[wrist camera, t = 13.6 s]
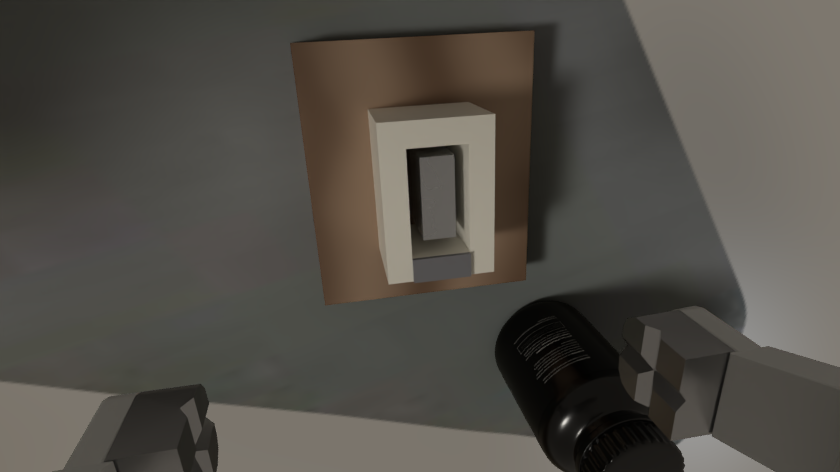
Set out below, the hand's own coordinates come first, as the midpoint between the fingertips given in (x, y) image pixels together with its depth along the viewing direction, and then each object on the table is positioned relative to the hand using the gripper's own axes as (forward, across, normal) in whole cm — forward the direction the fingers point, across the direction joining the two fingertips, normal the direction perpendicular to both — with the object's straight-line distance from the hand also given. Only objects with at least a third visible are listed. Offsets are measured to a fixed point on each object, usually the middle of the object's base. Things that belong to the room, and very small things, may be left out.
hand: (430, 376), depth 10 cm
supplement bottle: (+20, -12, +14) cm, 27 cm away
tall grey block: (+18, -4, +1) cm, 18 cm away
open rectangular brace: (+18, -4, +1) cm, 18 cm away
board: (+20, -4, +1) cm, 20 cm away
